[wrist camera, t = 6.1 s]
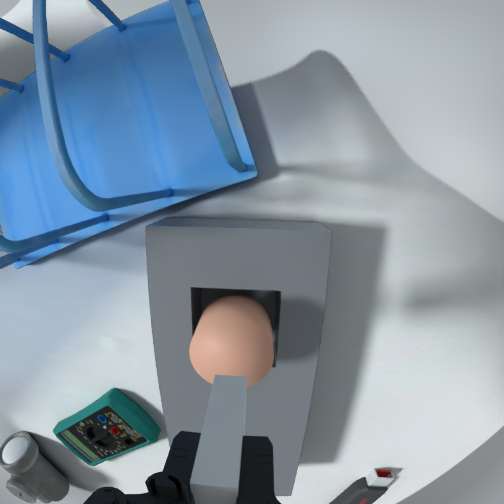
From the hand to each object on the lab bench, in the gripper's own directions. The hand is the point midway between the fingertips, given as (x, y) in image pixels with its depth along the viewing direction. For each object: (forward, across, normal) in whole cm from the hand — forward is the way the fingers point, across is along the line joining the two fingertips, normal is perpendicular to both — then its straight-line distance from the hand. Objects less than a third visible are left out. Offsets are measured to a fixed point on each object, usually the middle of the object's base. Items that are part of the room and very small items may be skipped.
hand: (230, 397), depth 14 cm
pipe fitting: (+12, -32, -30) cm, 46 cm away
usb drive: (+13, +17, -30) cm, 37 cm away
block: (+12, 0, -7) cm, 14 cm away
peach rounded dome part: (+8, 0, 0) cm, 8 cm away
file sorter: (+13, -14, +15) cm, 24 cm away
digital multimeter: (+13, -16, -18) cm, 27 cm away
